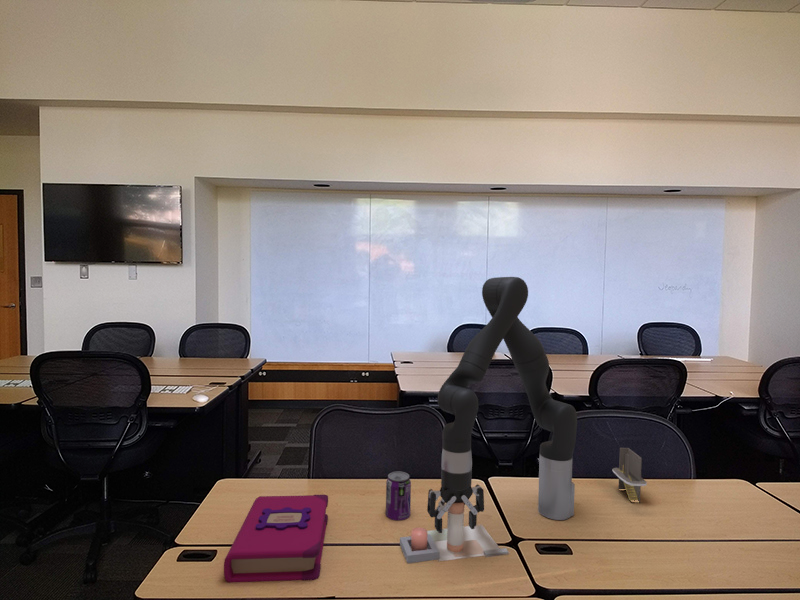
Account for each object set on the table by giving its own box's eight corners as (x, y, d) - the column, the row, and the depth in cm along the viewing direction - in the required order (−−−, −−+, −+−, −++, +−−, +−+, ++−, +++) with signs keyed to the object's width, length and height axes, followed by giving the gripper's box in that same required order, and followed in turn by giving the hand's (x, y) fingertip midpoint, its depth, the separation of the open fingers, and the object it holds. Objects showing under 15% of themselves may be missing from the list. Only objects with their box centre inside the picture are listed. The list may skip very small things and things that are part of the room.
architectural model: (613, 516, 135) (615, 467, 134) (582, 480, 160) (583, 438, 159) (681, 518, 134) (683, 469, 134) (639, 481, 159) (641, 440, 159)
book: (223, 585, 102) (223, 551, 102) (253, 520, 130) (254, 493, 130) (318, 581, 104) (319, 548, 103) (328, 518, 131) (328, 492, 131)
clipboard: (484, 524, 129) (484, 519, 129) (511, 557, 113) (511, 552, 113) (416, 532, 124) (416, 527, 124) (433, 567, 109) (434, 562, 108)
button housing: (429, 543, 119) (429, 534, 119) (439, 561, 111) (439, 551, 111) (399, 547, 117) (399, 537, 117) (407, 566, 109) (407, 555, 109)
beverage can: (407, 524, 128) (408, 482, 128) (383, 521, 129) (383, 479, 129) (412, 512, 135) (412, 472, 135) (388, 509, 136) (389, 469, 136)
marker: (459, 543, 118) (460, 496, 117) (465, 553, 113) (466, 503, 113) (444, 545, 117) (445, 497, 116) (449, 555, 112) (450, 505, 112)
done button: (424, 542, 116) (424, 526, 116) (429, 551, 112) (429, 535, 112) (409, 544, 115) (409, 528, 115) (413, 553, 111) (413, 537, 111)
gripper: (477, 458, 119) (476, 518, 120) (424, 462, 116) (424, 525, 117) (489, 469, 112) (488, 534, 113) (433, 474, 109) (432, 541, 110)
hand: (455, 529), depth 115 cm, fingers open, 8 cm apart
